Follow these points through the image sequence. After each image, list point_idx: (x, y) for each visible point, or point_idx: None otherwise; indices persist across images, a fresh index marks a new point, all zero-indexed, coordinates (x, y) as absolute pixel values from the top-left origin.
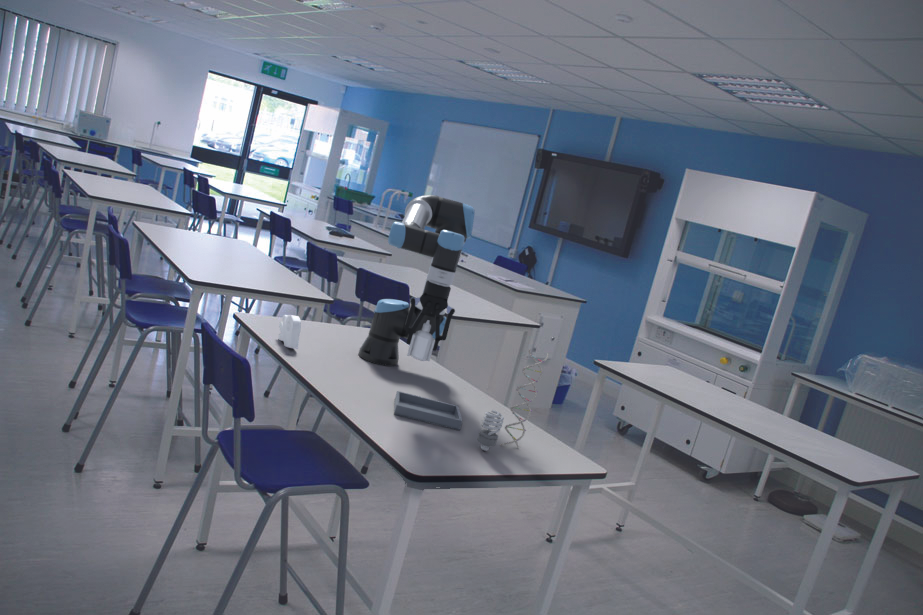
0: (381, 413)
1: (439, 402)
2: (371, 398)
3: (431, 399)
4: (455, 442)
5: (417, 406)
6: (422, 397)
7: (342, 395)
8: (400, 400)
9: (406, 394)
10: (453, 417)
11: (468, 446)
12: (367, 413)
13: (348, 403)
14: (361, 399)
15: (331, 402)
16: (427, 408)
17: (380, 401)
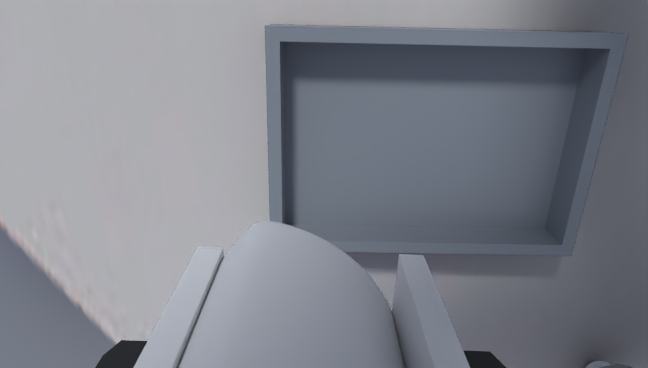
0: (226, 246)
1: (512, 45)
2: (161, 90)
3: (468, 34)
4: (496, 350)
5: (386, 79)
6: (414, 37)
7: (38, 145)
8: (299, 46)
9: (321, 41)
10: (561, 117)
11: (540, 357)
12: (175, 278)
13: (87, 223)
14: (122, 138)
15: (29, 254)
16: (439, 72)
17: (206, 103)
